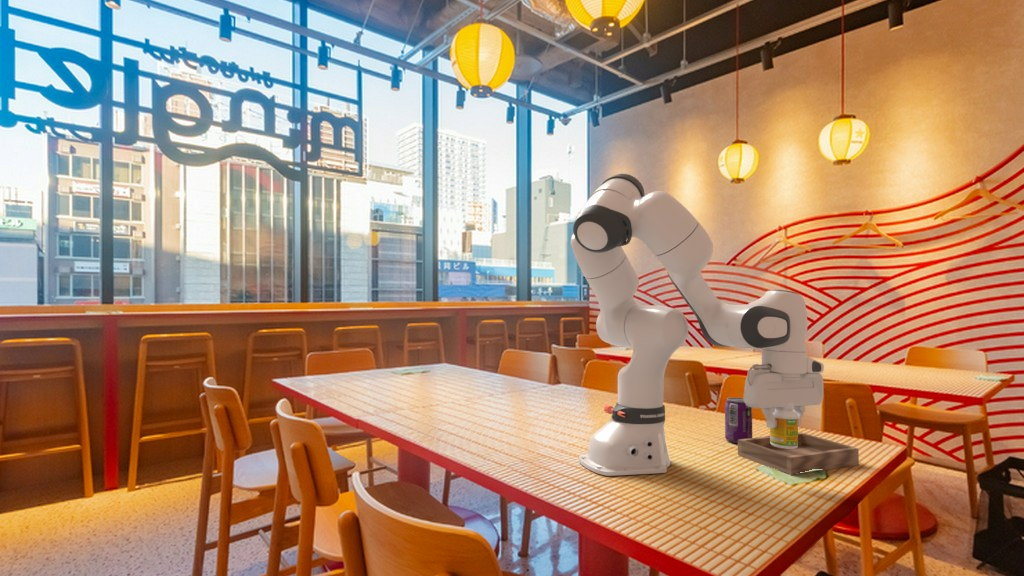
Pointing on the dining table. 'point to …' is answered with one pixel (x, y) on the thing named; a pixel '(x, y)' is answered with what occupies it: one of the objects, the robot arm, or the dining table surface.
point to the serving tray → (799, 454)
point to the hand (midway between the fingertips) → (783, 426)
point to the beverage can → (737, 420)
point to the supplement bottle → (785, 428)
